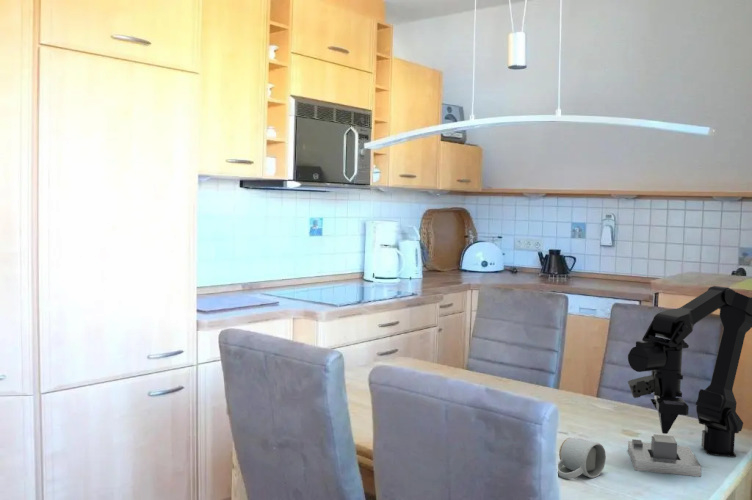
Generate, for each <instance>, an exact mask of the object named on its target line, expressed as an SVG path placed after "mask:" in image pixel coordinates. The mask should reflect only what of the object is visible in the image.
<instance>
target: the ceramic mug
mask: <svg viewBox="0 0 752 500" xmlns="http://www.w3.org/2000/svg"><path fill="white" fill-rule="evenodd" d="M606 453H607V452H606V449H605V447H604V446H603V444H601V442H595V441H592V440H587V439H584V438H580V437H567V438H566V439H564V440H563V441H562V443H561V445H560V448H559V461H558V462H557V463H558V472H557V474H558V473H559V475H558V476H559V478H563V479H566V480H570V479H571V480H572V479H575V478H577V477H579V476H581V475H583V476H586V477H587V478H590V479H594V478H597V477H598V476H601V474H602V472H603V470H604V468H605V465H606V459H607V455H606ZM562 467H564V468H566V469H568V470H570V472H563V471H561V469H562Z"/></svg>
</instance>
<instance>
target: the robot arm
mask: <svg viewBox="0 0 752 500" xmlns="http://www.w3.org/2000/svg"><path fill="white" fill-rule="evenodd" d="M718 309H719V315H718V316H719V319H720V322H721V325H722V329H723V330H722V333H721V337H720V342H719V346H718V351H717V355H716V359H715V364H714V368H713V372H712V375H711V380H710V383H709V385H707V386H706V388H705V389H702V388H701V389H699V391H698V395H697V396H698V397H697V401H696V402H695V406H696V407H695V412H696V414H697V421H698V423H699V424H700V425H703V426H704V430H702V431H701V432H702V433H701V447H702V449H703V450H704V451H705V453H706V454H707V455H710V456H721V457H723V456H724V457H732V458H735V457H736V456H737V454H736V453H735V438H736V437H735V436H736V434H739V433H740V432H742V430H743V426H744V422H743V420H742V419H741V417H740V416H739V414H738V413H737V412H736V410H737V400H736V398H735V394H734V392H733V387H734V386H735V385H734V384H735V380H736V375H737V373H738V367H739V364H740V363H739V362H740V359H741V354H742V350H743V345H744V342H745V337H746V333H748V332H749V331H750V329H752V297H751V296H746V294H745V295H744V294H742V293H740V292H738V291H735V290H734V289H733V288H732V289H731V288H730V287H726V286H718V285H713V286H710V287H708V289H707V290H706V291H704V292H703V293H701V294H700V295H698V296H696V297H695V298H693V299H692V300H690V301H688V302H687V303H685V304H683V305H682V306H681V307H677V308H672V309H666V310H663V311H661V312H658V313H657V314H655V315H654V316H653V319H652V321H650V325H649V326H648V328H647V330H646V331H645V333H644V335H643V337H642V339H641V340H642V341H641V340H636V341H635V346H633V347H632V348H631V349H630V350H629V352H628V354H627V361H628V365H629V366H630V368H631V369H632V370H633V371H635V372H638V373H643V372H649V371H651V373H650V375H646V376H641V377H638V378H634V379H629V380H628V381H627V383H628V387H629V390H630V393H631V395H632V397H633V398H634V399H638V398H641V397H642V396H645V395H652V394H653V397H654V398H650V401H651V404H653V407H654V408H655V410H657V412H658V417H659V418H658V419H659V424H660V430H661V433H662V435H667V434H669V431H670V430H671V428H672V427H673V425H674V423H675V421H676V420H677V418H678V417H679V415H681V416H688V415H689V409H690V408H689V404H687V402H686V401H685V400H684V399H683V398H682V397H683V392H682V391H681V381H683V379H684V375H683V373H682V364H683V349H688V348H689V344H688V343H687V342H686V341H685V339H686V338H687V337H688V336H689V335H690V334H691V333H692V332H693V330H694V326H695V324H697V323H699V322H701V321H702V320H703V319H704V318H706V317H708V316H710V315H712V314H713V313H714V312H715V311H717V310H718Z"/></svg>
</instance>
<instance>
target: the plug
mask: <svg viewBox="0 0 752 500" xmlns="http://www.w3.org/2000/svg"><path fill="white" fill-rule="evenodd" d="M652 435H653V436H652ZM652 435H651V442H650V443H651V457H652V458H663V459H673V460H677V446H678V443H677V441H676V438H675V437H674V435H667V434H654V433H653V434H652Z"/></svg>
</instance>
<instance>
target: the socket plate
mask: <svg viewBox="0 0 752 500" xmlns="http://www.w3.org/2000/svg"><path fill="white" fill-rule="evenodd" d="M627 442H628V443H627V444H628V445H627V452H628V455H629V457H630V460H631V463H632V466H633V468H634V471H639V472H648V473H650V472H651V473H660V474H670V475H681V476H691V477H699V478H701V476H702V465H701V463H700V461H699V460H698V459H697V457H696V456H695V454H694V453H693V451H692V449H691V447H690V446H684V445H677V460H673V459H663V458H652V457H651V442H642V440H641V439H632V441H631V440H630V441H629V440H628V441H627Z"/></svg>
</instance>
